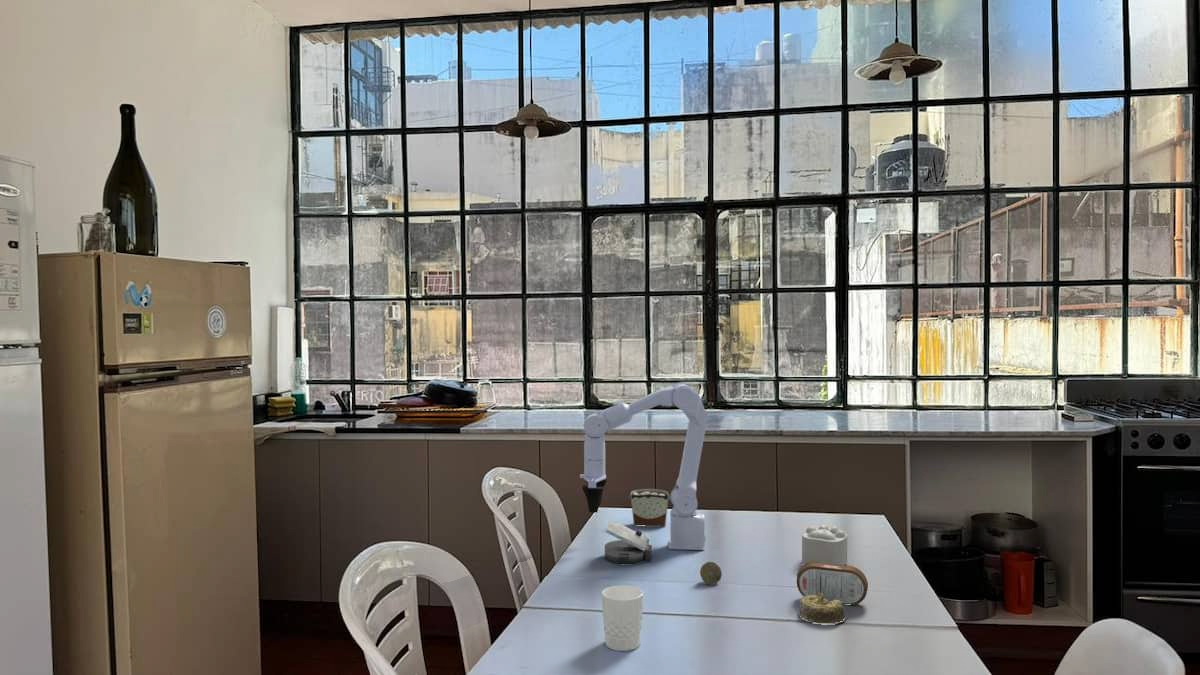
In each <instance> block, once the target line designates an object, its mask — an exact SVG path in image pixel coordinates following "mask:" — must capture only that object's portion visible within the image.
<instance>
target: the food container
mask: <svg viewBox="0 0 1200 675" xmlns="http://www.w3.org/2000/svg"><path fill="white" fill-rule="evenodd" d="M628 500H630V501H631V503H630V504H631V512H632V519H633V520H632V521H633V526H634V525H645V526H644V527H652V526H665V527H666V524H667V523H666V522H667V515H668V514H667V513H668V504H669V501H671V498H670V494H669V492H668V491H666V490H664V489H657V488H641V489H634V490H632V491H631V492H630V494H629V497H628Z"/></svg>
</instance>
